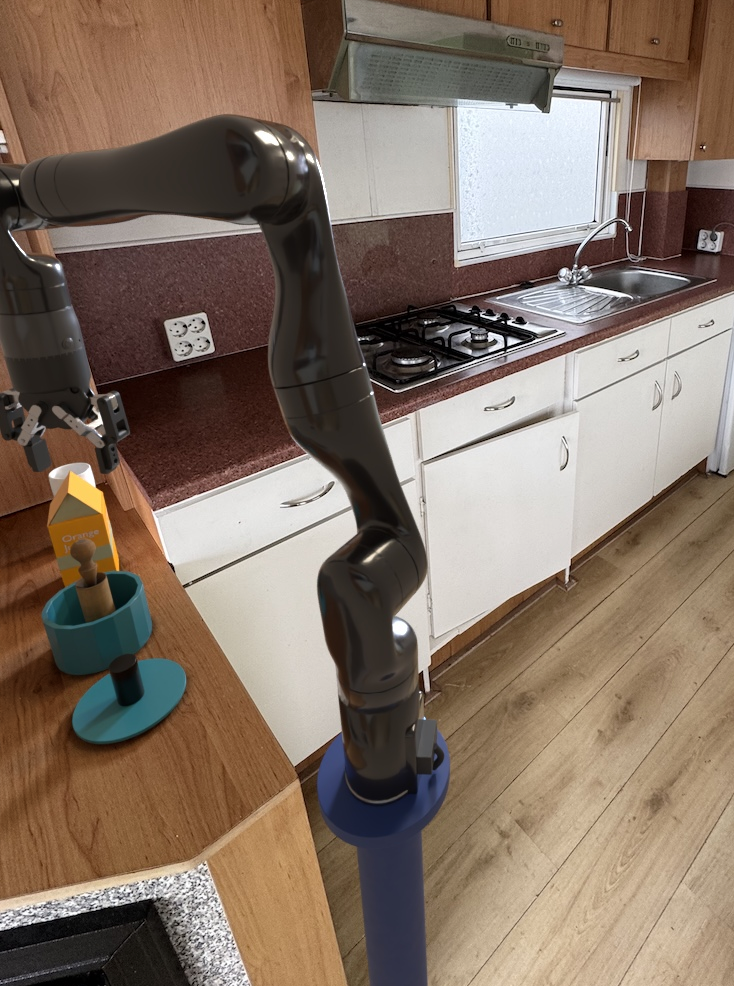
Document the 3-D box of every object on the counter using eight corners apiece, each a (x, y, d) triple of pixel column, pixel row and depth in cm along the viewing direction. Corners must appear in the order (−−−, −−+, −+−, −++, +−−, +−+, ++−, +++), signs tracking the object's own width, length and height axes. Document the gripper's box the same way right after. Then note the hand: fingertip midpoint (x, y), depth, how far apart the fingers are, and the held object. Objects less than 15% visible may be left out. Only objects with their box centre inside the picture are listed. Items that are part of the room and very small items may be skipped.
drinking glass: (69, 551, 111) (50, 483, 106) (63, 535, 116) (45, 469, 111) (110, 537, 115) (93, 471, 110) (103, 523, 120) (87, 458, 115)
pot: (140, 602, 99) (131, 560, 96) (161, 644, 90) (151, 600, 87) (49, 640, 90) (36, 595, 88) (63, 690, 82) (48, 643, 79)
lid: (171, 649, 89) (163, 612, 87) (200, 705, 80) (191, 665, 78) (66, 699, 80) (53, 659, 78) (84, 768, 71) (71, 726, 69)
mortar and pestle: (89, 628, 92) (62, 532, 86) (135, 619, 94) (112, 525, 88) (75, 660, 86) (46, 559, 80) (125, 649, 88) (100, 550, 82)
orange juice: (119, 557, 110) (96, 464, 103) (120, 584, 103) (96, 485, 96) (68, 572, 106) (41, 475, 99) (66, 600, 99) (37, 498, 92)
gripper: (125, 339, 70) (149, 458, 76) (11, 336, 71) (43, 454, 76) (81, 357, 63) (112, 487, 69) (-46, 354, 64) (-5, 483, 69)
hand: (76, 470), depth 72 cm, fingers open, 8 cm apart
